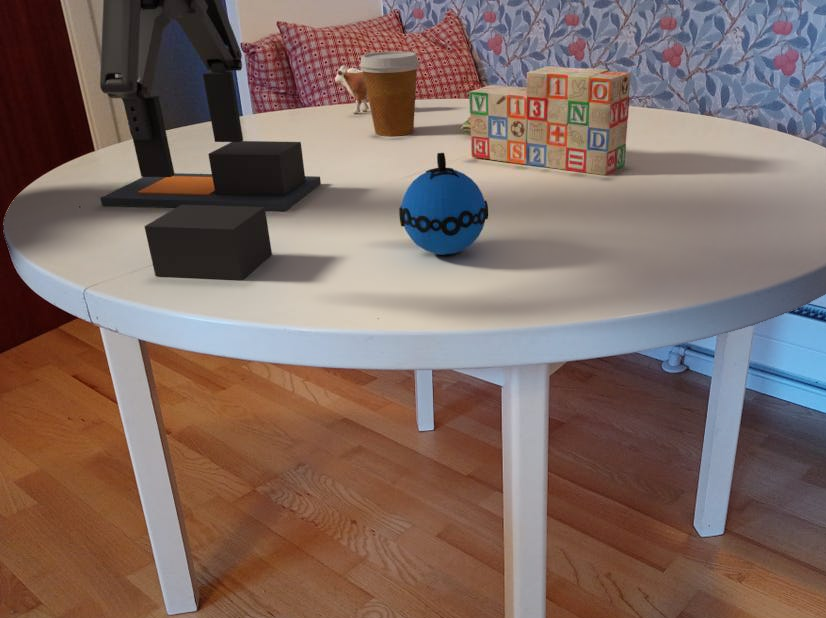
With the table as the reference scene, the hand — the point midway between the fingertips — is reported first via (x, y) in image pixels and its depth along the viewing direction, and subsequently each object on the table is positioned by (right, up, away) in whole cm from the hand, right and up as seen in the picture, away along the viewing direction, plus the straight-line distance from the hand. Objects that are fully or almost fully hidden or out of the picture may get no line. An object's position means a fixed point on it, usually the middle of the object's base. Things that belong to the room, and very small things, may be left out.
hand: (196, 157), depth 76 cm
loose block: (0, -9, +5) cm, 11 cm away
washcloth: (+33, +19, +59) cm, 70 cm away
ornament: (+23, -8, +6) cm, 25 cm away
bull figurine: (+6, +27, +75) cm, 80 cm away
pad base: (-7, +2, +28) cm, 29 cm away
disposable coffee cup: (+12, +19, +59) cm, 63 cm away
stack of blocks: (+36, +9, +39) cm, 53 cm away
